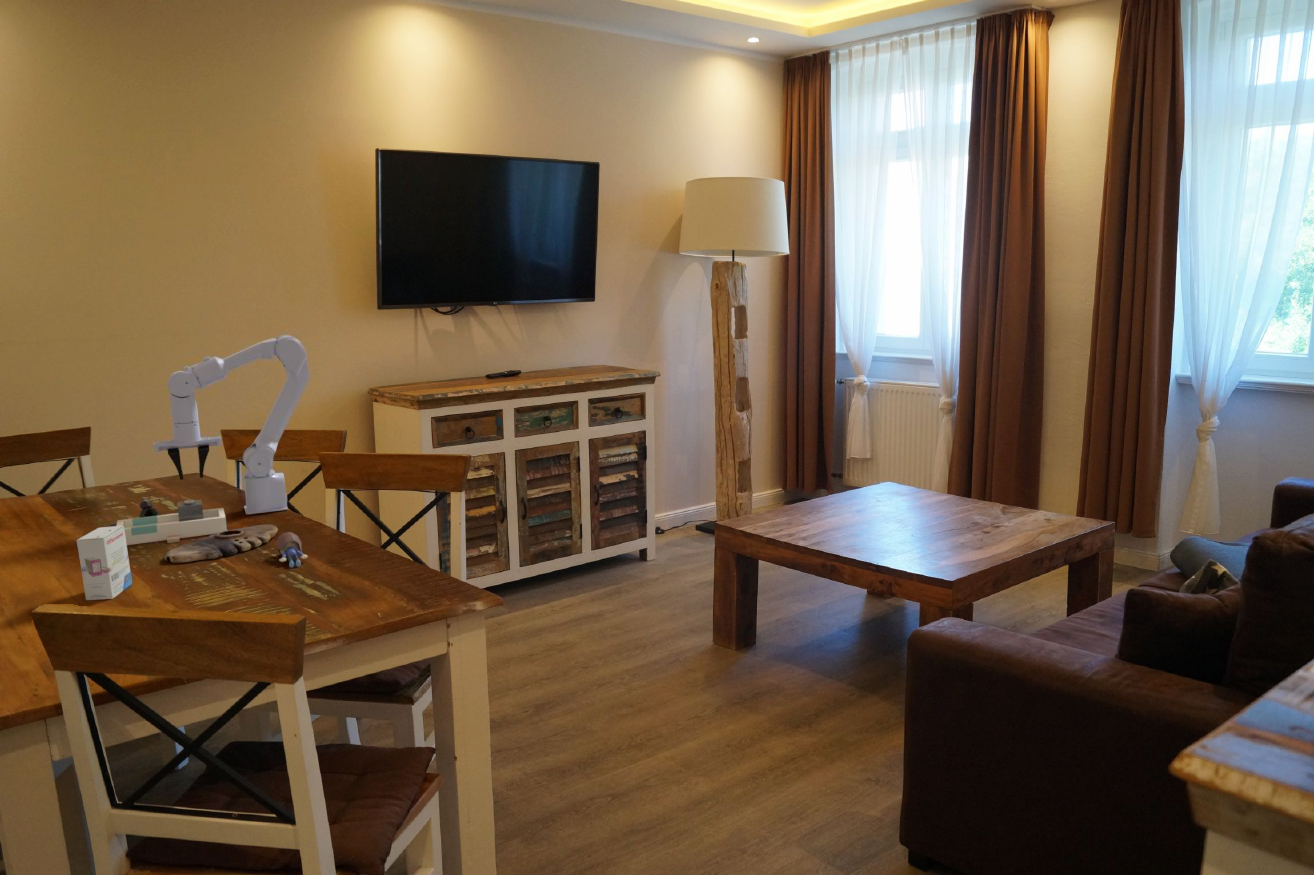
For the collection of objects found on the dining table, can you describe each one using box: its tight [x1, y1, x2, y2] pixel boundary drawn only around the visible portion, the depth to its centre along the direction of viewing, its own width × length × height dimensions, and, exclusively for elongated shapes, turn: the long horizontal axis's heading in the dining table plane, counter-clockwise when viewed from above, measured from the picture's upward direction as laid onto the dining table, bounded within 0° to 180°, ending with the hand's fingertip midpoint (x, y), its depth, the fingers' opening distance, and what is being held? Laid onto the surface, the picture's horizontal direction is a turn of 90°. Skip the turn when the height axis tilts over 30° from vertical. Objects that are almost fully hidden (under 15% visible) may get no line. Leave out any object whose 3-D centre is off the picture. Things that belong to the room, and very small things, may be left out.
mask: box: [164, 524, 279, 564], centre depth 208 cm, size 15×4×25 cm
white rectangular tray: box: [116, 507, 228, 546], centre depth 218 cm, size 22×13×4 cm, turn 117°
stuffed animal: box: [109, 499, 161, 527], centre depth 229 cm, size 12×10×12 cm
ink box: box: [76, 526, 133, 601], centre depth 180 cm, size 9×5×12 cm, turn 5°
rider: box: [177, 499, 204, 522], centre depth 221 cm, size 5×5×5 cm
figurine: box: [275, 531, 309, 569], centre depth 199 cm, size 6×5×12 cm
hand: (191, 477), depth 232 cm, fingers open, 4 cm apart
